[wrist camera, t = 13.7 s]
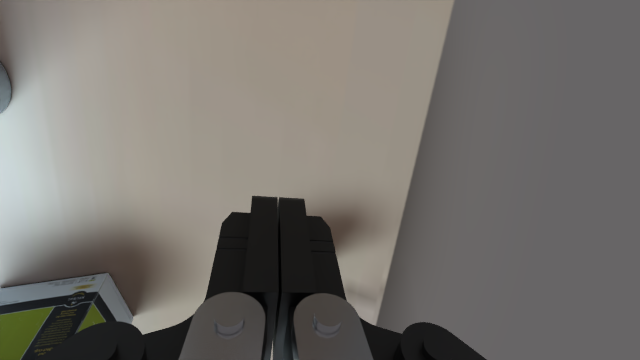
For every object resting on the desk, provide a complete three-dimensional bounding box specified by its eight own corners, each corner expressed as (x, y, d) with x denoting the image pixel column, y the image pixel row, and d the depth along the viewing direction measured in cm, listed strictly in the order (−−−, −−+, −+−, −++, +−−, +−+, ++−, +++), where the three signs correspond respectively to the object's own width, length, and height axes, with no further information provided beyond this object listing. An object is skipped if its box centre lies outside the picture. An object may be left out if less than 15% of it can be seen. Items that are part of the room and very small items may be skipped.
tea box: (35, 332, 51) (-44, 448, 39) (-3, 285, 46) (-108, 401, 33) (137, 317, 52) (92, 425, 39) (111, 269, 47) (50, 376, 34)
